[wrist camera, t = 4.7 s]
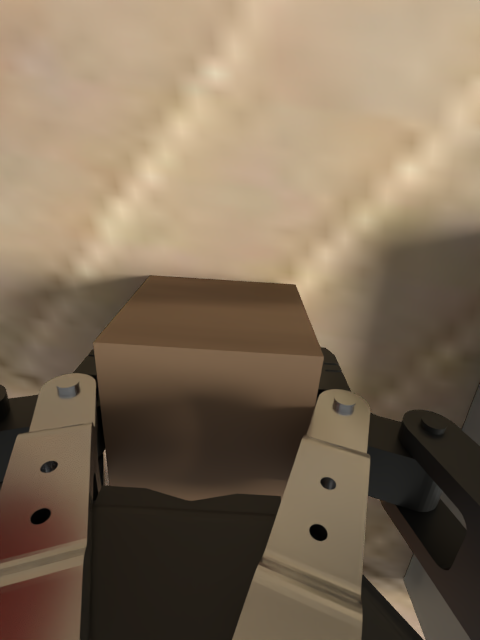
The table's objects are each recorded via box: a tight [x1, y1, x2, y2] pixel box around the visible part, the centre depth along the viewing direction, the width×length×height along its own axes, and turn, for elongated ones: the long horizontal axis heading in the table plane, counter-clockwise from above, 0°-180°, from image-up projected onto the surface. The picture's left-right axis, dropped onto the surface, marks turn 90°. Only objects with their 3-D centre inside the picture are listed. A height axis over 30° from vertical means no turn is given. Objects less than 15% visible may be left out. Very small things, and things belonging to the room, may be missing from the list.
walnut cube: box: [93, 275, 324, 501], centre depth 11 cm, size 5×5×5 cm
